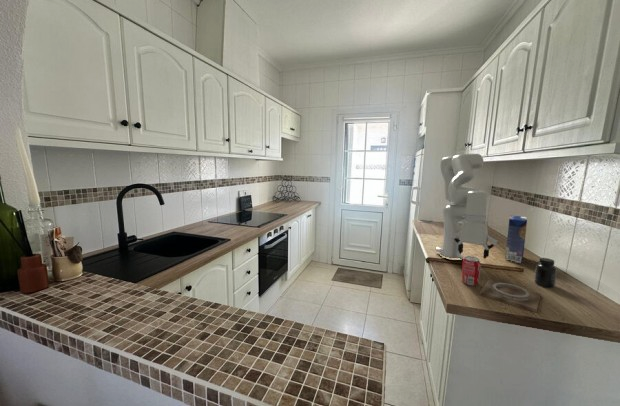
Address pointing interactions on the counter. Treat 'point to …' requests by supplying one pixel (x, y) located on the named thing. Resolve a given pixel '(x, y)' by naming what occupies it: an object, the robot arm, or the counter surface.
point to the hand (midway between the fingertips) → (472, 255)
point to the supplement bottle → (545, 273)
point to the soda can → (471, 270)
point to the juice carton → (516, 238)
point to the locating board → (511, 295)
